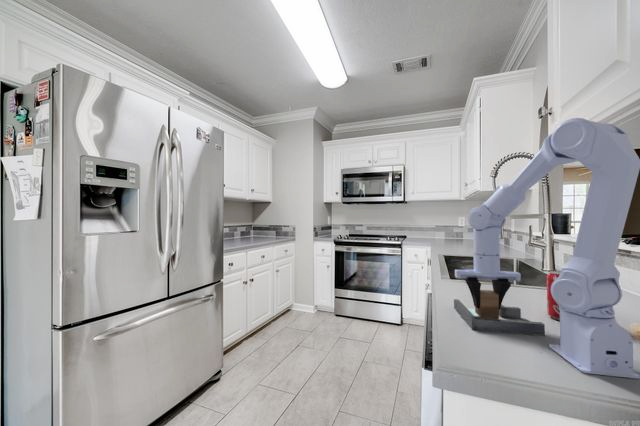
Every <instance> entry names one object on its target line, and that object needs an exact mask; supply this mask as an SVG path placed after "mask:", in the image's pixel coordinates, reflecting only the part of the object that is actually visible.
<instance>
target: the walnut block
mask: <svg viewBox="0 0 640 426" xmlns="http://www.w3.org/2000/svg"><path fill="white" fill-rule="evenodd" d="M474 309H475V312H476V313H477V314H478V315H479V316H480V317H481V318H489V319H500V317H499V295H498V294H497V293H495V292H494V291H493V289H480V308H476V307H475V306H474Z"/></svg>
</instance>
